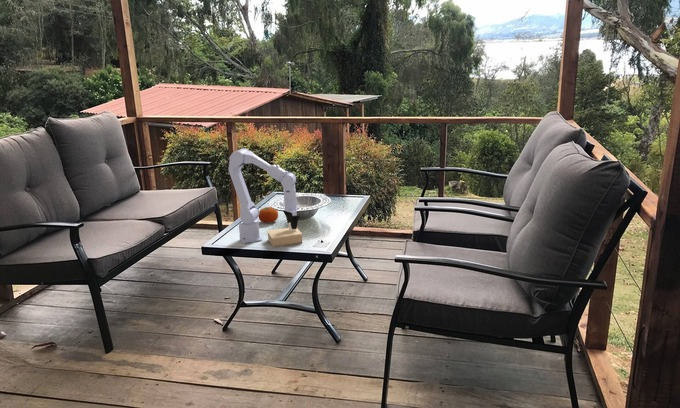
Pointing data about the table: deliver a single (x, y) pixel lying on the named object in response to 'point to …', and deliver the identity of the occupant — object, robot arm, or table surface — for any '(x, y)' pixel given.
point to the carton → (285, 241)
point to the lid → (284, 232)
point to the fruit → (268, 215)
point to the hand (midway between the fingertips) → (292, 226)
